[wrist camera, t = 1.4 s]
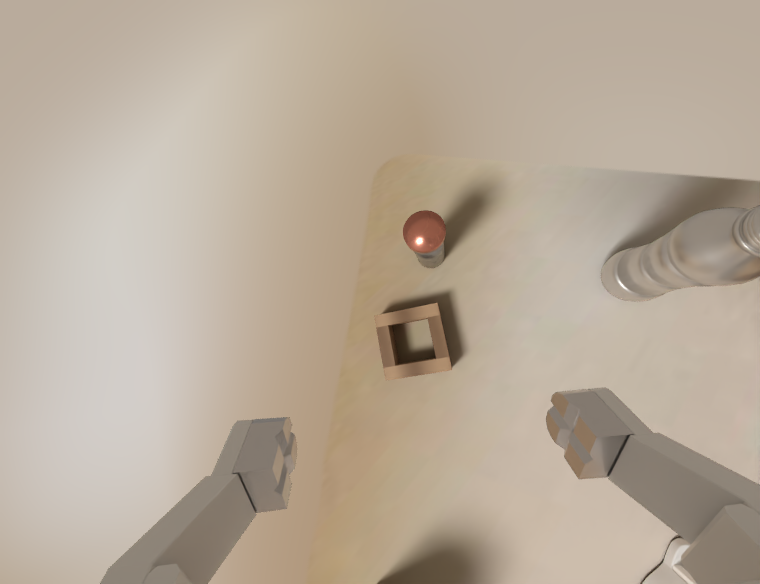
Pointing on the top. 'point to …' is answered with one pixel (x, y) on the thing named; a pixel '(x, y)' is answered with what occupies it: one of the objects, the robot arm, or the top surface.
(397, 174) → the top surface
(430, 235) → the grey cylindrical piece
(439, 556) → the top surface
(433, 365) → the collar
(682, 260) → the plastic bottle
